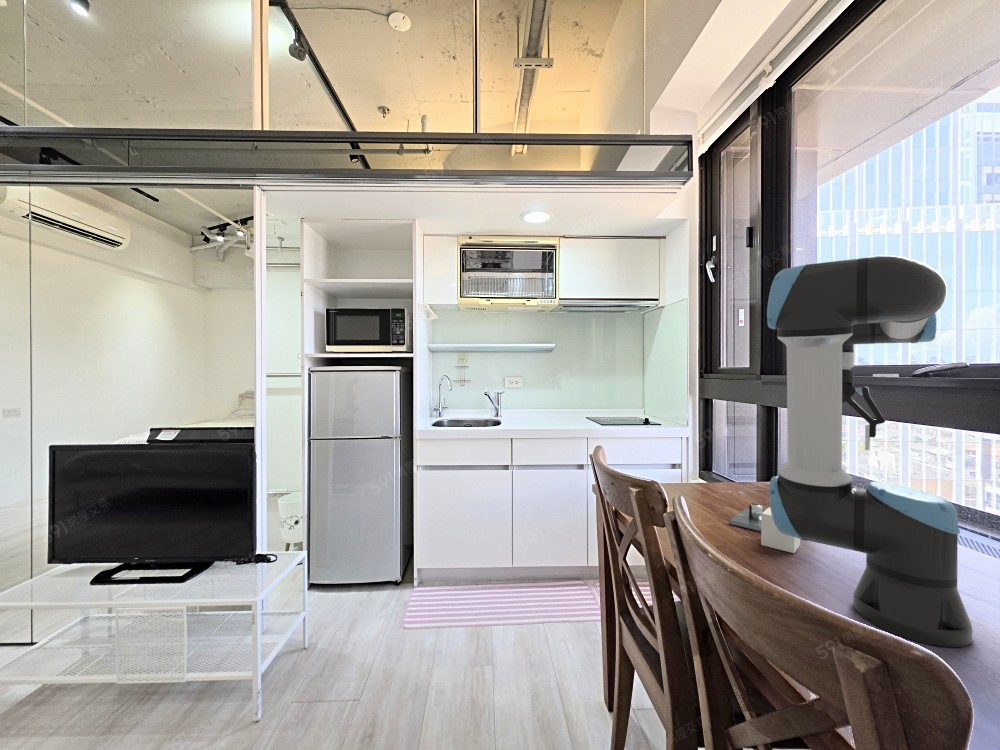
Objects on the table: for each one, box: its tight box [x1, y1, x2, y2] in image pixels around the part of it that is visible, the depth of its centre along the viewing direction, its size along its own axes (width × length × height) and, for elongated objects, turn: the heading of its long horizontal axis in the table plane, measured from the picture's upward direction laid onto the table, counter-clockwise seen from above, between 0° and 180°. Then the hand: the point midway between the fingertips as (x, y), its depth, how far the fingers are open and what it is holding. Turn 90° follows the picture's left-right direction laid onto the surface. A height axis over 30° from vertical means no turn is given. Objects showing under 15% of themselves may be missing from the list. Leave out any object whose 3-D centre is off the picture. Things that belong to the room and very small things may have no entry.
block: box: [760, 507, 801, 554], centre depth 108 cm, size 8×7×9 cm
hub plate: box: [729, 502, 763, 532], centre depth 123 cm, size 14×14×5 cm
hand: (834, 446), depth 116 cm, fingers open, 13 cm apart
